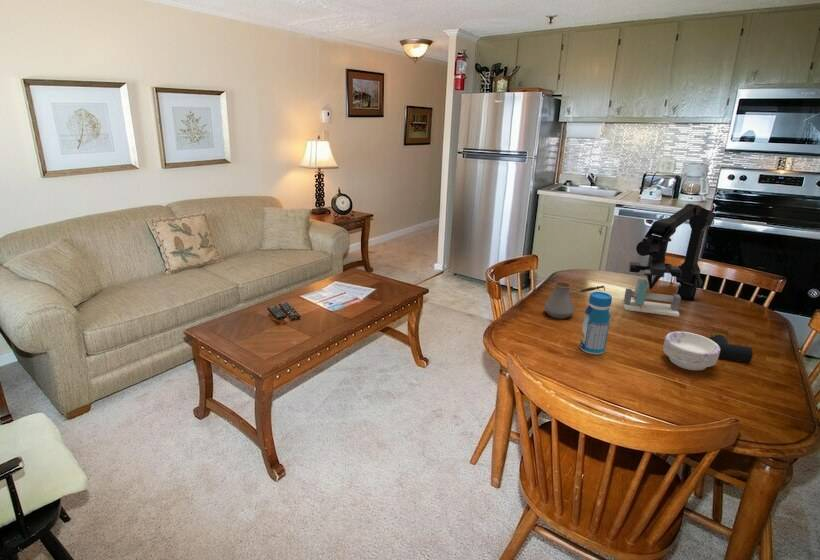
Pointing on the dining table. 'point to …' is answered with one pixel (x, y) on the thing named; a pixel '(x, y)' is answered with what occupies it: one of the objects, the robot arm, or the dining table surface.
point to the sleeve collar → (641, 291)
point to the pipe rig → (653, 303)
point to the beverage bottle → (596, 323)
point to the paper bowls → (691, 350)
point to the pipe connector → (731, 349)
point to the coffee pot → (563, 300)
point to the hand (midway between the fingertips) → (650, 289)
